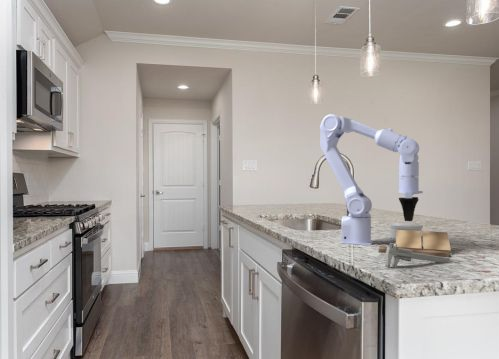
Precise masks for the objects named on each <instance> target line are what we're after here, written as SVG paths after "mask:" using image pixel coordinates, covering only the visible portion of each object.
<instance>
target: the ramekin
mask: <svg viewBox="0 0 499 359" xmlns="http://www.w3.org/2000/svg"><path fill="white" fill-rule="evenodd" d="M388 229H389V233H390V237H391V238H392V239H394V240H396V232H397V230H412V231H421V232H422V231H423V230H422V229H423V224H420V223H415V222H391V223H389V224H388Z"/></svg>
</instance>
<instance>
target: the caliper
mask: <svg viewBox="0 0 499 359" xmlns="http://www.w3.org/2000/svg"><path fill="white" fill-rule="evenodd" d="M396 247H397V244H396V242H395V243H393V242H389V245H388V246H387V250H386V253H384V256H385V258H384V265H385V267H386V268H389V269H390V268H391V267H392V268H397V266H398V265H399V262H400V260H402V261H406V262H407V261H408V262H411V261H412V259H413V260H420V261H427V262H432V263H433V262H434V263H441V264H444V263H446V264H447V263H453V262H454V260H451V258H448V257H439V256H432V255H426V254H419V253H413V251H410V250H405V249H400V248H396Z"/></svg>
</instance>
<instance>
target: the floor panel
mask: <svg viewBox="0 0 499 359" xmlns="http://www.w3.org/2000/svg"><path fill="white" fill-rule="evenodd" d="M387 247H388V246H386V245H385V246H384V245H382V246H381V245H379V247H378V253H381V254H386V250H387ZM396 248H400V249H405V250H410V251H413V253H419V254H426V255H432V256H439V257H445V258H449V256H450V254H448V252H447V250H432V249H423V248H422V249H417V248H402V247H396Z"/></svg>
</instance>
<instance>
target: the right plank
mask: <svg viewBox="0 0 499 359" xmlns="http://www.w3.org/2000/svg"><path fill="white" fill-rule="evenodd" d="M449 239H450V238H449V234H448V231H429V230H422V231H421V240H422V249H432V250H447V252H448V254H449V255H451V254H452V253H451V252H452V248H451V245H450V240H449Z"/></svg>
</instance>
